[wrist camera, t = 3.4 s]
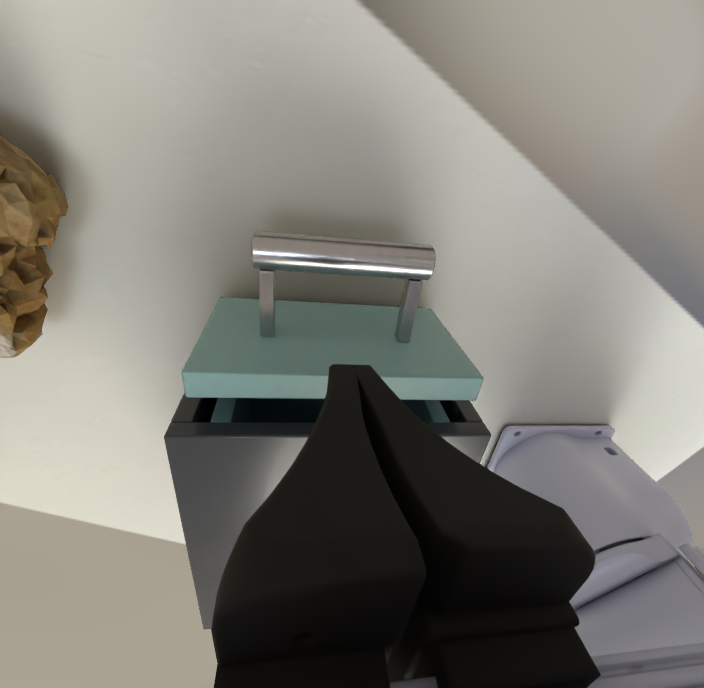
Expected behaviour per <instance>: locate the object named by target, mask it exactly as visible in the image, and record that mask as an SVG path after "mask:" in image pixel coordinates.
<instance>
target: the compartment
mask: <svg viewBox="0 0 704 688" xmlns="http://www.w3.org/2000/svg"><path fill="white" fill-rule="evenodd" d="M217 400H218V398H192V397H186V396H185V393H184V395H183V397H182V399H181V401H180V404H179V406H178V408H177V410H176V412H175V414H174V416H173V418H172V421H171V423H170V425H169V427H168V429H167V432H166V434H165V436H164V440H165V444H166V449H167V454H168V459H169V464H170V469H171V474H172V478H173V483H174V488H175V493H176V498H177V503H178V508H179V512H180V517H181V522H182V527H183V532H184V537H185V541H186V546H187V551H188V556H189V561H190V566H191V570H192V575H193V580H194V585H195V589H196V595H197V599H198V605H199V609H200V614H201V619H202V624H203V629H212V620H213V614H214V608H215V602H216V596H217V592H218V588H219V585H220V581H221V578H222V575H223V572H224V569H225V566H226V564H227V561H228V559H229V557H230V554H231V552H232V550H233V547H234V545H235V543H236V541H237V539H238V537H239V535H240V533H241V531H242V529H243V527H244V524H245V523H246V522H247V521H248V520H249V518H250V517H251V516H252V515H253V514H254V513H255V511H256V510H257V509H258V508H259V507H260V506H261V505H262V503H263V502H264V501H265V500H266V499H267V498H268V496H269V495H270V494H271V493H272V492H273V490H274V489H275V487H276V486H277V485H278V483H279V482H280V481H281V479H282V478H283V477H284V475H285V474H286V473H287V471H288V470H289V468H290V467H291V465H292V464H293V462H294V461H295V459H296V458H297V456H298V454H299V453H300V451H301V449H302V448H303V446H304V444H305V443H306V441H307V439H308V437H309V435H310V433H311V431H312V429H313V427H314V425H315V423H316V422H210V421H211V418H212V415H213V412H214V409H215V406H216V403H217ZM439 401H440V403H441V405H442V407H443V409H444V411H445V413H446V415H447V417H448V418H449V420H450V422H424V423H425V424H426V425H428V426H429V427H430V428H431V429H432V430H433V431H435V432H436V433H437V434H438V435H440V436H441V437H442V438H444V439H445V440H446V441H447V442H449V443H450V444H451V445H453V446H454V447H455V448H457V449H458V450H460V451H461V452H463V453H464V454H466V455H467V456H469V457H470V458H472V459H473V460H474V461H476V462H477V463H479V464H480V461H481V459H482V456H483V454H484V451H485V449H486V447H487V444H488V442H489V439H490V437H491V433H490V432H489V430H488V429H487V427H486V426H485V424H484V423H483V422H482V419H481V418H480V416H479V415H478V413H477V412H476V410H475V408H474V407H473V405H472V404H471V402H470V401H469V400H439Z"/></svg>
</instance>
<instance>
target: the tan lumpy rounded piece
mask: <svg viewBox="0 0 704 688" xmlns="http://www.w3.org/2000/svg"><path fill="white" fill-rule="evenodd" d="M67 208H68V204H67V201H66V198H65V194H64V193H63V191H62V190H61V188H60V187H59V185H58V184H57V182H56V181H55V179H54V178H53V176H52V175H51V174H49V175H47V176H46V173H45V172H44V171H43V170H42V169H41V168H40V166H39V165H38V164H37V163H36V162H34V161H33V160H32V159H31V158H30V157H29V156H28V155H27V154H26V153H24V152H23V151H22V150H20V149H19V148H17V147H16V146H14V145H13V144H11V143H10V142H8V141H7V140H5V138H3V137H1V136H0V358H13V357H15V356H18V355H19V354H20V353H22V352H23V351H24V350H26V349H27V348H28V347H30V346H31V345H32V344H33V343H34V342H35V341H36V340H37V339H38V338H39V337H40V336H41V335H42V325H43V322H44V318H45V315H46V313H47V311H48V309H47V307H46V306H45V304H44V302H45V300H46V299H47V298H48V295H47V292H46V289H45V288H44V284H45V283H46V282H47V280H48V279H49V278H50V276H51V275H52V271H51V270H50V268H49V266H48V264H47V261H46V257H45V253H44V252H43V251H42V249H43V248H42V247H41V246H40V245H45V246H47V247H49V248H51V246H52V244H53V243H54V241H55V235H56V231H57V227H58V223H59V219H60V218H61V217H62V216H65V215H66V212H67Z"/></svg>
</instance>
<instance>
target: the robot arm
mask: <svg viewBox="0 0 704 688" xmlns="http://www.w3.org/2000/svg"><path fill="white" fill-rule="evenodd" d="M614 432H615V430H614V429H613V428H612V427H611V426H508V427H506V428H504V430H503V432H502V434H501V436H500V439H499V441H498V443H497V446H496V448H495V450H494V453H493V455H492V457H491V459H490V462H489V464H488V466H487V468H485V467H484V466H482V465H481V464H479V463H477V462H476V461H474V460H473V459H472V458H470V457H469V456H467V455H466V454H464V453H463V452H461V451H460V450H458V449H457V448H455V447H454V446H453V445H451V444H450V443H449V442H447V441H446V440H445V439H444V438H442V437H441V436H440V435H438V434H437V433H436V432H435V431H433V430H432V429H431V428H430V427H429V426H428V425H426V424H425V423H424V422H423V421H422V420H421V419H420V418H419V417H418V416H417V415H415V414H414V413H413V412H412V411H411V410H410V409H409V408H408V407H407V406H406V405H405V404H404V403H403V402H402V401H401V400H400V399H399V397H398V396H397V395H396V394H395V393H394V392H393V391H392V390H391V389H390V388H389V386H388V385H387V384H386V383H385V382H384V381H383V379H382V378H381V377H380V376H379V375H378V374H377V372H376V371H375V370H374V369H373V368H372V367H371V366H370V365H349V364H332V365H331V366H330V367H329V374H328V385H327V393H326V396H325V400H324V403H323V406H322V408H321V411H320V413H319V416H318V418H317V420H316V423H315V425H314V427H313V429H312V431H311V433H310V435H309V437H308V439H307V441H306V443H305V444H304V446H303V448H302V449H301V451H300V453H299V454H298V456H297V458H296V459H295V461H294V462H293V464H292V465H291V467H290V468H289V470H288V471H287V473H286V474H285V475H284V477H283V478H282V479H281V481H280V482H279V483H278V485H277V486H276V487H275V489H274V490H273V492H272V493H271V494H270V495H269V496H268V498H267V499H266V500H265V501H264V502H263V503H262V505H261V506H260V507H259V508H258V509H257V510H256V511H255V513H254V514H253V515H252V516H251V517H250V518H249V520H248V521H247V522H246V523H245V524H244V527H243V529H242V531H241V533H240V535H239V537H238V539H237V541H236V543H235V545H234V547H233V550H232V552H231V554H230V557H229V559H228V561H227V564H226V566H225V569H224V572H223V575H222V578H221V581H220V585H219V588H218V592H217V596H216V602H215V608H214V614H213V620H212V629H211V630H212V636H213V642H214V647H215V652H216V658H217V663H218V665H217V671H216V677H215V684H214V688H704V578H703V577H704V548H700V547H693V546H692V544H693V542H692V541H693V540H692V533H691V530H690V527H689V524H688V522H687V520H686V518H685V516H684V514H683V512H682V511H681V509H680V508H679V506H678V505H677V504H676V502H675V501H674V500H673V499H672V498H671V497H670V496H669V495H668V494H667V493H666V492H665V491H664V490H663V489H662V488H661V487H660V486H659V485H658V484H657V483H656V482H655V481H654V480H653V479H652V478H651V477H650V476H649V475H648V474H647V473H646V472H645V471H643V470H642V469H641V468H640V467H639V466H638V465H637V464H636V463H635V462H634V461H633V460H632V459H631V458H630V457H629V456H628V455H627V454H626V453H625V452H624V451H623V450H622V449H621V448H620V447H619V446H618V445H617V444H616V443H614V442H613V441H612V440H611V437H612V436H613V434H614ZM688 559H689V560H690V562H691V563H692V564H693V565H694V567H695V568H696V569H697V570H696V569H695V568H694V567H693V566H692V565H691V564H690V563H689V561H688ZM701 575H702V576H703V577H702V576H701Z"/></svg>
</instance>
